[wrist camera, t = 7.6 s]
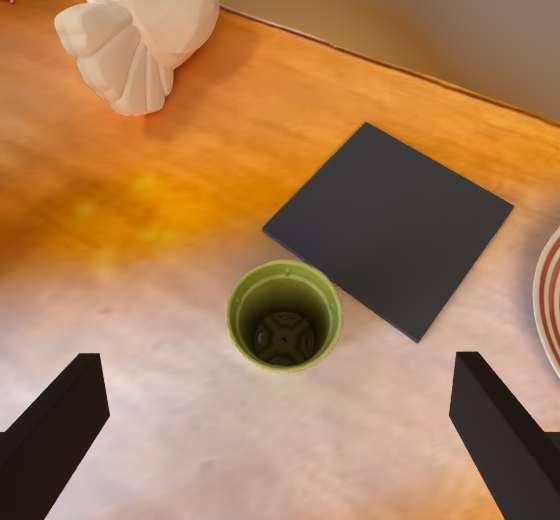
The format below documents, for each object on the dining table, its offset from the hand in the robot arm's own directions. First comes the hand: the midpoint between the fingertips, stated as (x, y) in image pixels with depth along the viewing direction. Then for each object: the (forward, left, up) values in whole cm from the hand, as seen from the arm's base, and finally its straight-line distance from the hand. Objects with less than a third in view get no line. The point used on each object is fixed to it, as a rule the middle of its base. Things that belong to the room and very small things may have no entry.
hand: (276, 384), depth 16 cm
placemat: (+25, +5, -25) cm, 35 cm away
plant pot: (+7, +5, -25) cm, 26 cm away
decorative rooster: (+25, +44, -25) cm, 56 cm away
